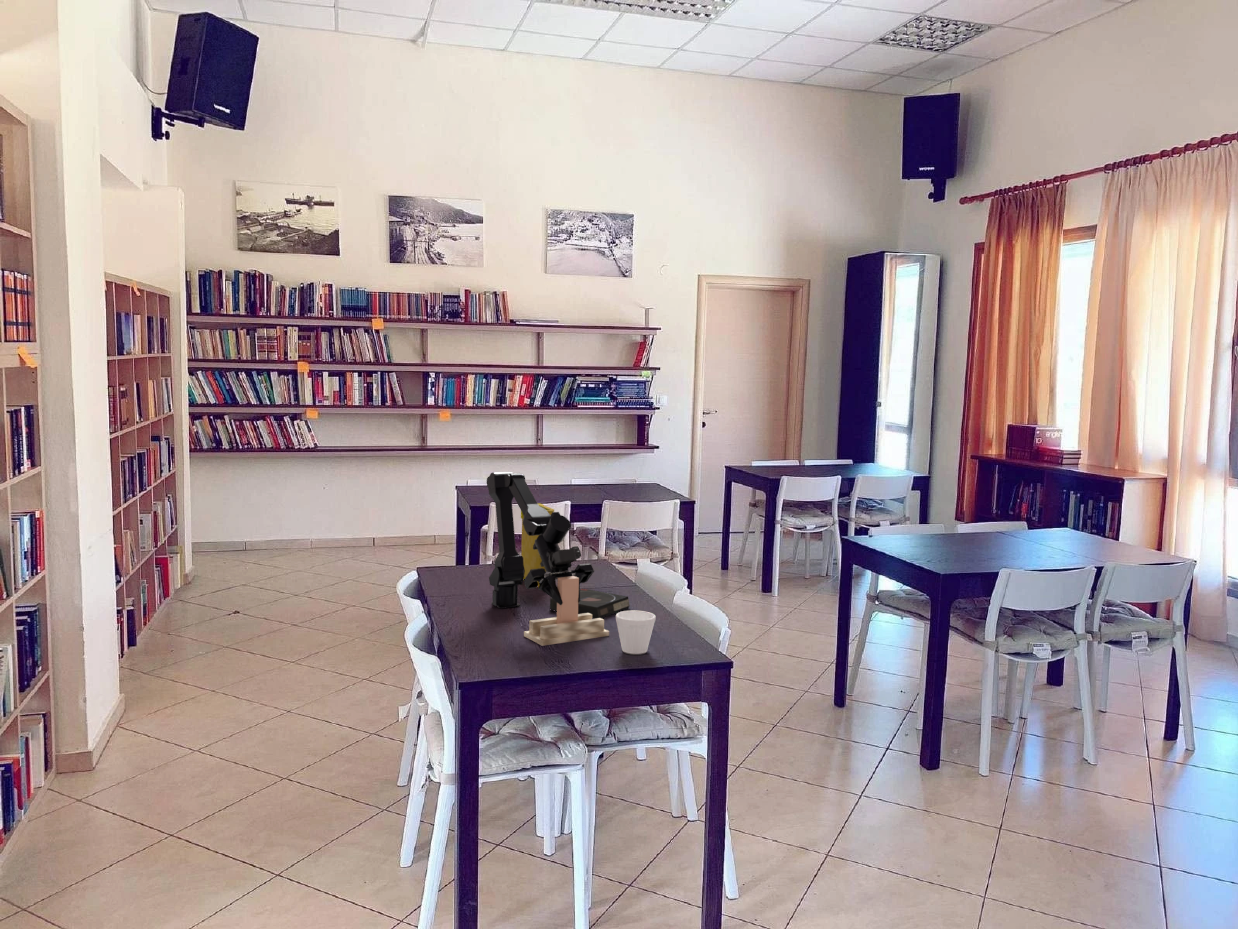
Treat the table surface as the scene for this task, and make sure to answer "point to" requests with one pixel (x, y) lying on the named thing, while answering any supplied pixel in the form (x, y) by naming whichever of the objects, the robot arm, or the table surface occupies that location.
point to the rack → (565, 630)
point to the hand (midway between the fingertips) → (570, 603)
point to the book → (531, 548)
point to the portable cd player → (598, 603)
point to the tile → (568, 599)
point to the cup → (635, 630)
